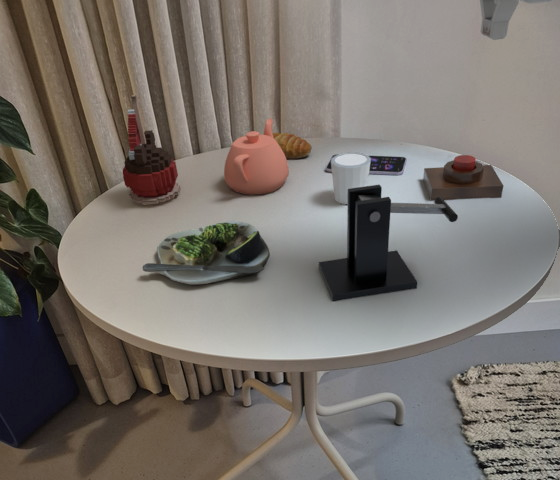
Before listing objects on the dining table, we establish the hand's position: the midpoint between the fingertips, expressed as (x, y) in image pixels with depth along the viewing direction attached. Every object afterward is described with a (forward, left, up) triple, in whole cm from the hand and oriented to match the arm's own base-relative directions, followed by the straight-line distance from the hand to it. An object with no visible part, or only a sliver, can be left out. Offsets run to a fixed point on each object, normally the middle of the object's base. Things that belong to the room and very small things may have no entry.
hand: (492, 36), depth 66 cm
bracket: (+8, +12, -29) cm, 32 cm away
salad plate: (+30, +21, -29) cm, 47 cm away
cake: (+57, +12, -29) cm, 65 cm away
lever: (+5, +8, -20) cm, 22 cm away
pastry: (+50, -18, -29) cm, 61 cm away
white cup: (+26, -8, -29) cm, 40 cm away
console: (+12, -22, -29) cm, 38 cm away
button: (+12, -22, -26) cm, 36 cm away
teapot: (+45, -4, -29) cm, 54 cm away
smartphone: (+32, -21, -29) cm, 48 cm away
